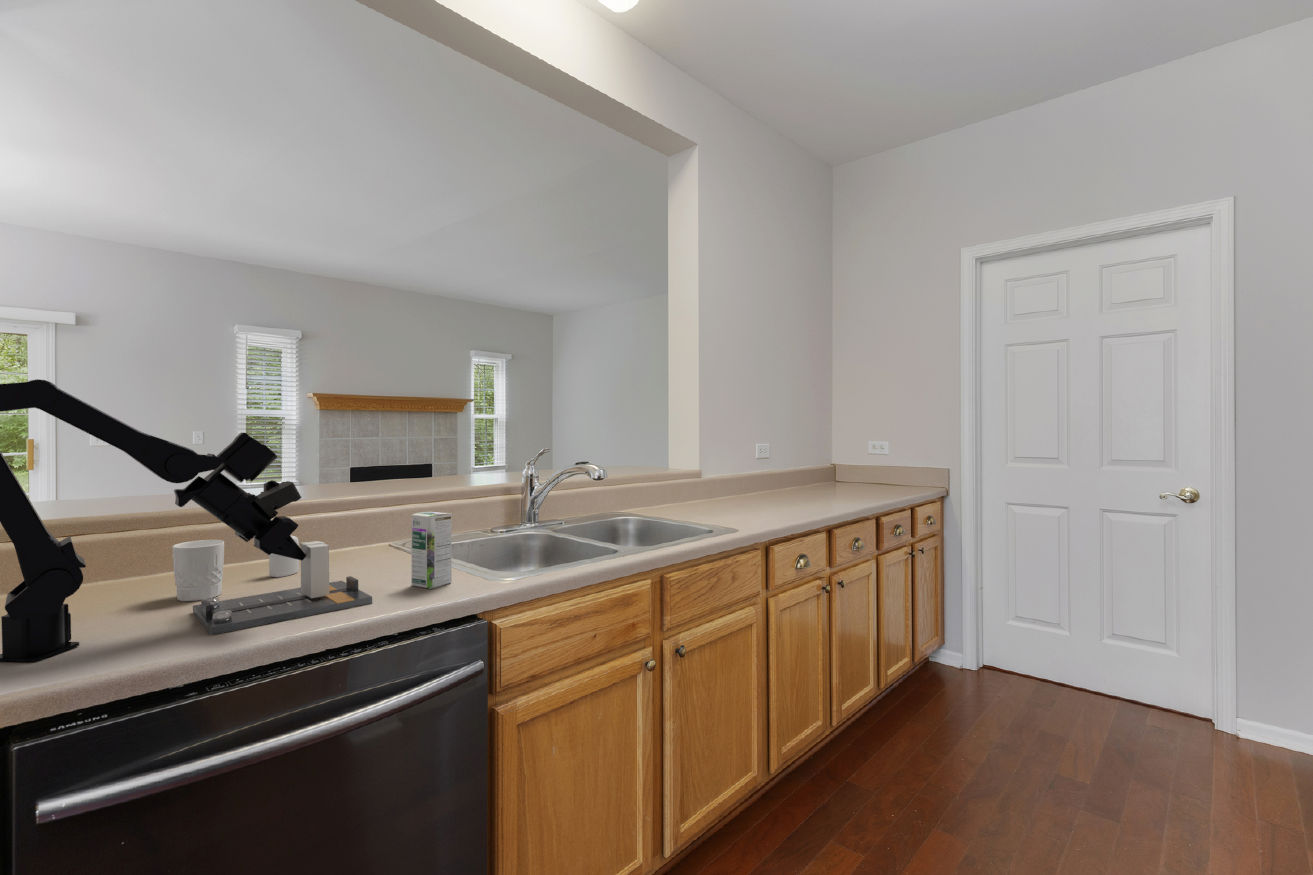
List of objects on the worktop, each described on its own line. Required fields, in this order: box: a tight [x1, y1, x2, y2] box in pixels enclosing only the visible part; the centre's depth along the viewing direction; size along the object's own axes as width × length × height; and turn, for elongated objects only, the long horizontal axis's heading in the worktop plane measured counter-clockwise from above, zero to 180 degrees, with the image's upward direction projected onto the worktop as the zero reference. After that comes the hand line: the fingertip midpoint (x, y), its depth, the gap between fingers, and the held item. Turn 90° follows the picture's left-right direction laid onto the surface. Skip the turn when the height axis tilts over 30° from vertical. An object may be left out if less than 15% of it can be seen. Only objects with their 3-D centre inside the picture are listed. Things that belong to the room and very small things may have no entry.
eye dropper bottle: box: [268, 534, 300, 578], centre depth 133 cm, size 4×6×12 cm
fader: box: [299, 540, 330, 598], centre depth 112 cm, size 3×6×9 cm, turn 45°
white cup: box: [171, 539, 225, 602], centre depth 116 cm, size 8×8×10 cm
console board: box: [192, 576, 373, 636], centre depth 109 cm, size 24×16×3 cm
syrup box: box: [410, 511, 453, 590], centre depth 125 cm, size 6×6×14 cm
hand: (303, 557), depth 111 cm, fingers closed, pressing on fader
